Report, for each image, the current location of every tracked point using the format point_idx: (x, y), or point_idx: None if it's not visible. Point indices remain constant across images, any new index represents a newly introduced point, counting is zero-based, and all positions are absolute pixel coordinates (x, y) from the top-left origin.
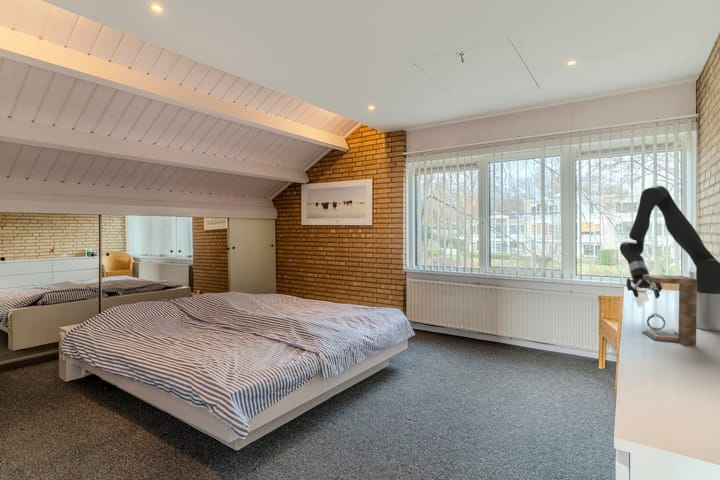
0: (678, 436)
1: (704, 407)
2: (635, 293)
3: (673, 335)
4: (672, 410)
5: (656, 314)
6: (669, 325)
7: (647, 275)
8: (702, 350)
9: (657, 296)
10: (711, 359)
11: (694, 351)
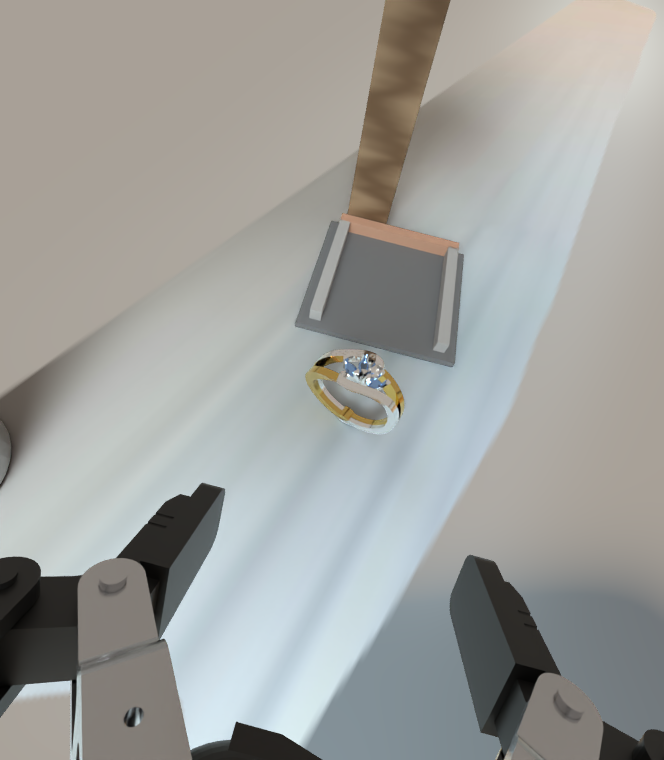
0: (605, 5)
1: (551, 25)
2: (511, 597)
3: (347, 294)
4: (592, 27)
5: (368, 358)
6: None
7: None
8: None
9: (221, 491)
10: None
11: None
